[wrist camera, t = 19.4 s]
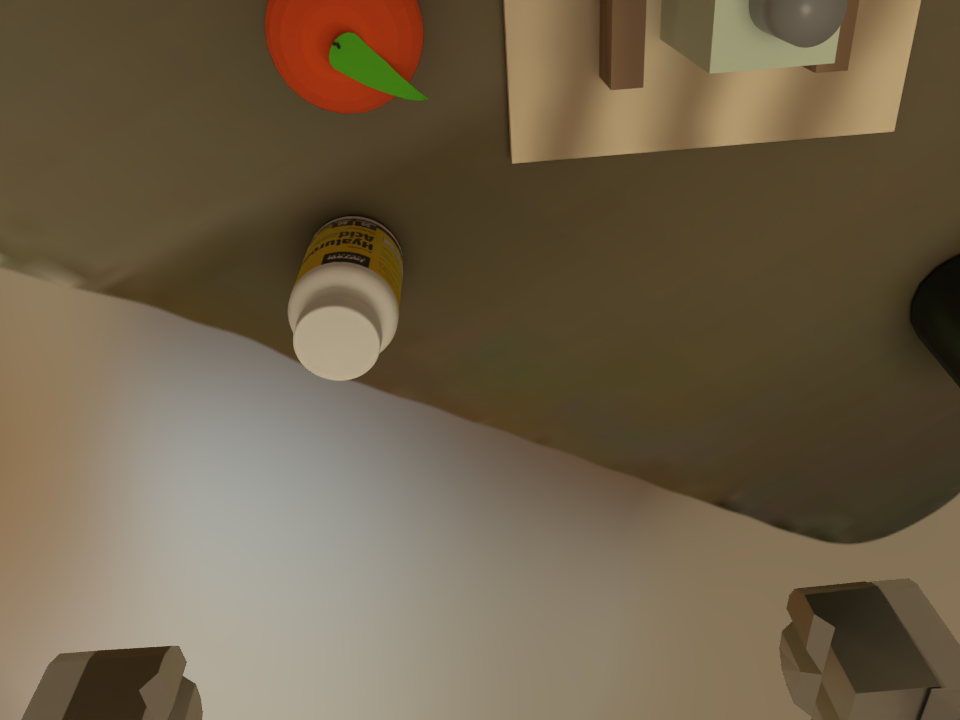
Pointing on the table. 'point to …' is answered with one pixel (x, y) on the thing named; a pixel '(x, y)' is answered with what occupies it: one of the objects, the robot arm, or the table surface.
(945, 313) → the potion bottle
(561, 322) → the table surface
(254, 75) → the table surface
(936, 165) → the table surface
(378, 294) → the supplement bottle
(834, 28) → the sage bottle
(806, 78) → the u rest
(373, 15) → the clementine
